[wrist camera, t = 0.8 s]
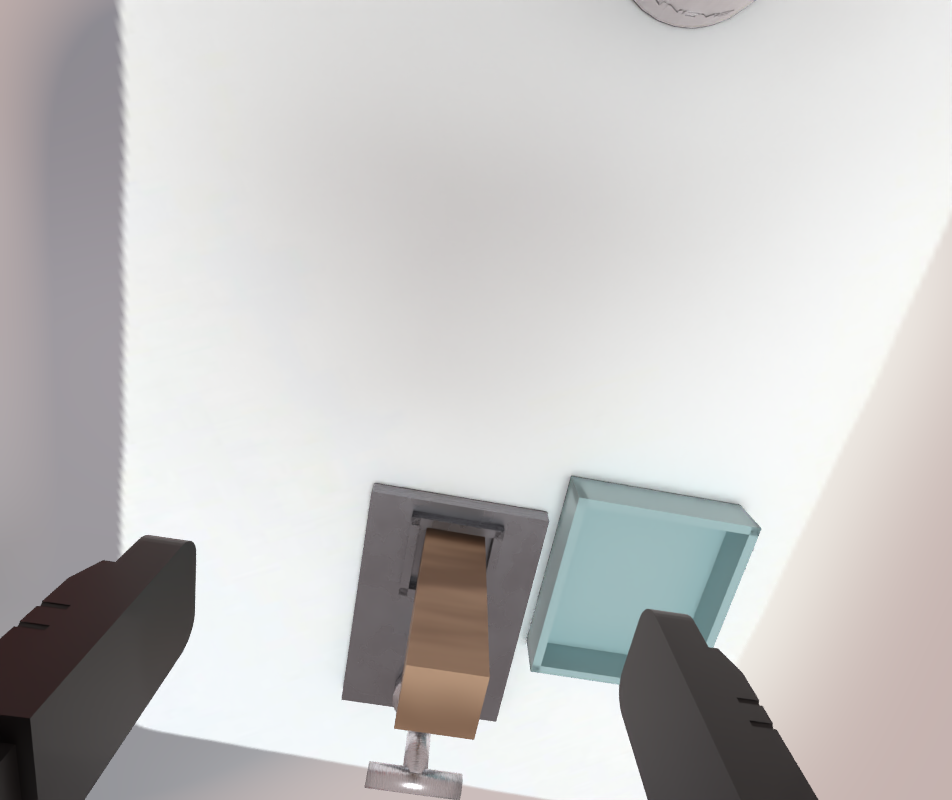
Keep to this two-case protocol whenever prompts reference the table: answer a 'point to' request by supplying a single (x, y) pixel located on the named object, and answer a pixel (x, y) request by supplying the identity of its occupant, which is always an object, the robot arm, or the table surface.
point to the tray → (633, 573)
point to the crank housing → (392, 597)
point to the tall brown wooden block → (447, 639)
